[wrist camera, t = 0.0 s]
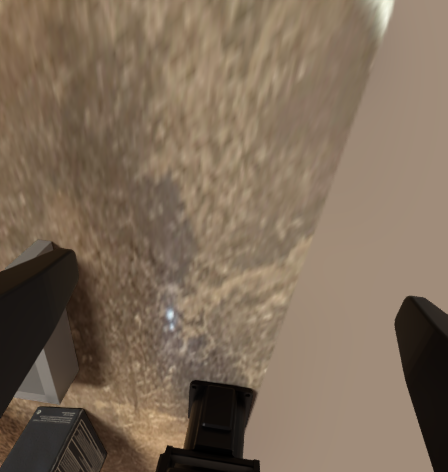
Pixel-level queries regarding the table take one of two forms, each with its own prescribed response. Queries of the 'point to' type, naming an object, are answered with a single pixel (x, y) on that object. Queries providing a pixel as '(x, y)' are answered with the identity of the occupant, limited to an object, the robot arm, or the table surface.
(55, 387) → the grey l-shaped bracket
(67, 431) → the small box
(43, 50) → the table surface
